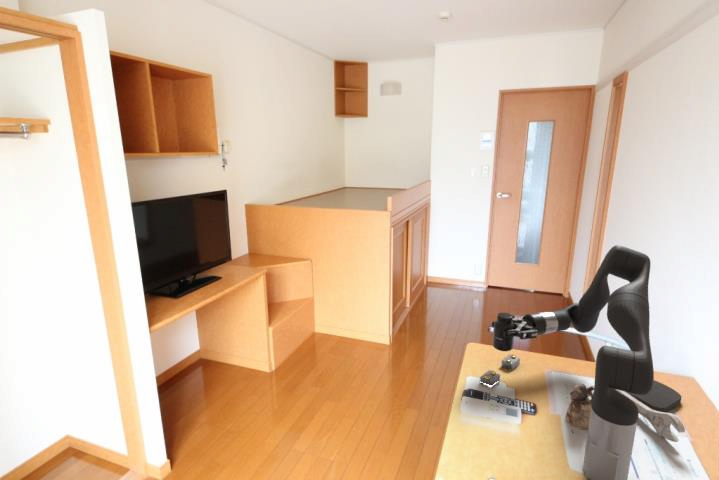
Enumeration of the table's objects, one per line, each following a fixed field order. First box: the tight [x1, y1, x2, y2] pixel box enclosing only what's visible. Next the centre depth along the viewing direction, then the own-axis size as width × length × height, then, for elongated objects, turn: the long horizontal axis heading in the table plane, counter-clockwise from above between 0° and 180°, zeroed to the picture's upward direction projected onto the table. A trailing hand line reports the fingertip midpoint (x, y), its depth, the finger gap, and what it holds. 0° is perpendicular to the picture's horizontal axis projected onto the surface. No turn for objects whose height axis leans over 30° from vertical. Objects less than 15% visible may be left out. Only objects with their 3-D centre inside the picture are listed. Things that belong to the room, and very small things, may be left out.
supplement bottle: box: [492, 312, 515, 352], centre depth 136 cm, size 7×7×12 cm
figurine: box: [564, 383, 594, 430], centre depth 114 cm, size 7×7×12 cm
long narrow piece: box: [479, 353, 521, 385], centre depth 140 cm, size 21×4×3 cm, turn 134°
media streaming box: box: [626, 379, 682, 413], centre depth 126 cm, size 15×15×3 cm
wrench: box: [615, 389, 686, 443], centre depth 117 cm, size 8×2×30 cm
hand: (498, 329), depth 135 cm, fingers closed on supplement bottle, 6 cm apart
